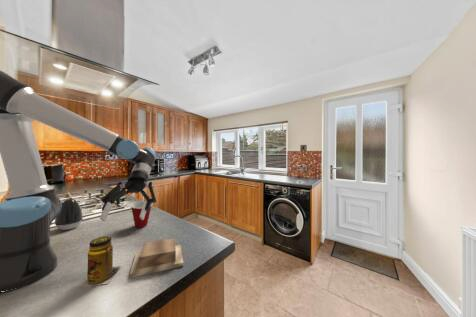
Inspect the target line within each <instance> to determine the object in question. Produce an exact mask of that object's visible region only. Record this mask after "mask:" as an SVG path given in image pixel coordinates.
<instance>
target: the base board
mask: <svg viewBox="0 0 476 317" xmlns="http://www.w3.org/2000/svg"><path fill="white" fill-rule="evenodd" d="M175 240H176V238H175V237H174V238H167V239H161V240H155V241H149V242H143V244H142V248H141V251H136V253H135V256H134V259H133V263H132V265H131V267H130V271H129V278H135V277H139V276H143V275H144V276H145V275H147V274H148V275H149V274H153V273H158V272H163V271H166V270H170V269H171V270H173V269H175V268H179V267H184V259H183V258H184V257H183V252H182V245H181V244H177V245H176V241H175Z"/></svg>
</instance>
